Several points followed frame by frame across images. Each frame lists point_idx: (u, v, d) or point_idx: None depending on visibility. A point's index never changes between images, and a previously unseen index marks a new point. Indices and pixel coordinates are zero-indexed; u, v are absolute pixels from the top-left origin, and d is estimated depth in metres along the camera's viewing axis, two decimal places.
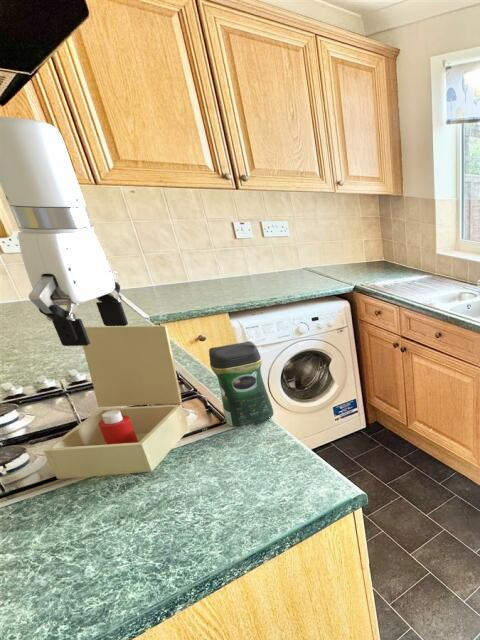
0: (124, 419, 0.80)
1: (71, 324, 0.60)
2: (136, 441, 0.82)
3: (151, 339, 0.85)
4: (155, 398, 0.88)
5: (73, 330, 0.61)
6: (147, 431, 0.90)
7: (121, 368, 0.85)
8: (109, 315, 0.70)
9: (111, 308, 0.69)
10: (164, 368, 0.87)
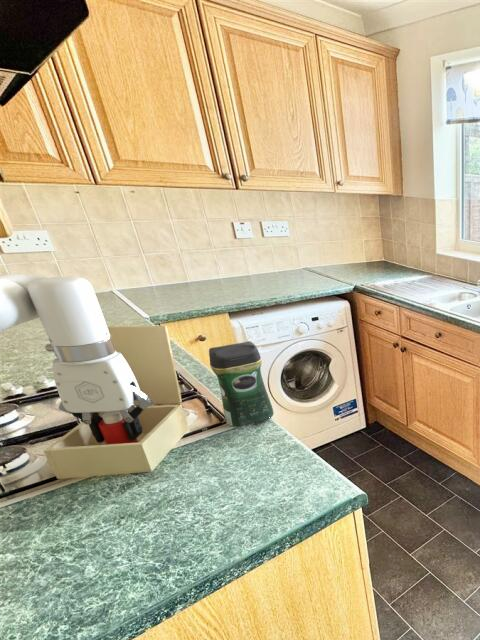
0: (124, 419, 0.80)
1: None
2: (136, 441, 0.82)
3: (151, 339, 0.85)
4: (155, 398, 0.88)
5: None
6: (147, 431, 0.90)
7: None
8: None
9: None
10: (164, 368, 0.87)
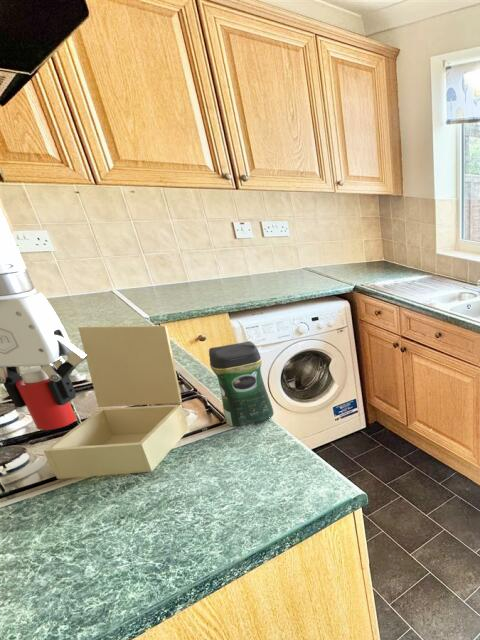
0: None
1: None
2: (68, 407, 0.66)
3: (151, 339, 0.85)
4: (155, 398, 0.88)
5: None
6: (147, 431, 0.90)
7: (121, 368, 0.85)
8: None
9: None
10: (164, 368, 0.87)
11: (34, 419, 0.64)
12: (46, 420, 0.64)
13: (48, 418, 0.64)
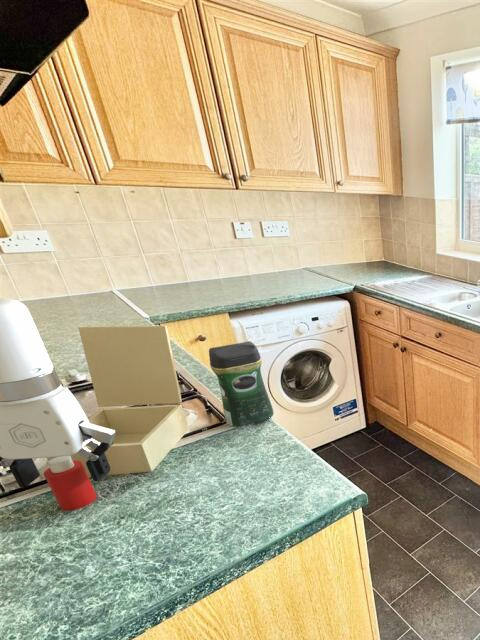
0: (76, 466, 0.68)
1: None
2: (91, 490, 0.70)
3: (151, 339, 0.85)
4: (155, 398, 0.88)
5: None
6: (147, 431, 0.90)
7: (121, 368, 0.85)
8: (27, 473, 0.66)
9: (27, 464, 0.66)
10: (164, 368, 0.87)
11: (60, 504, 0.68)
12: (71, 505, 0.68)
13: (73, 503, 0.68)
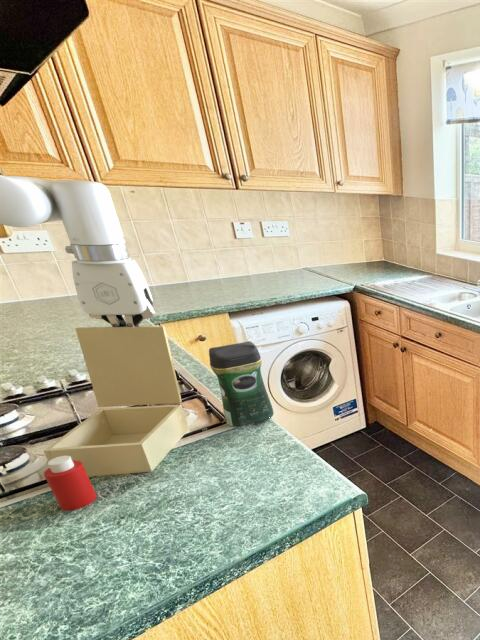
0: (76, 466, 0.68)
1: None
2: (91, 490, 0.70)
3: (149, 340, 0.84)
4: (155, 398, 0.88)
5: None
6: (147, 431, 0.90)
7: (120, 369, 0.84)
8: None
9: None
10: (163, 369, 0.86)
11: (60, 504, 0.68)
12: (71, 505, 0.68)
13: (73, 503, 0.68)
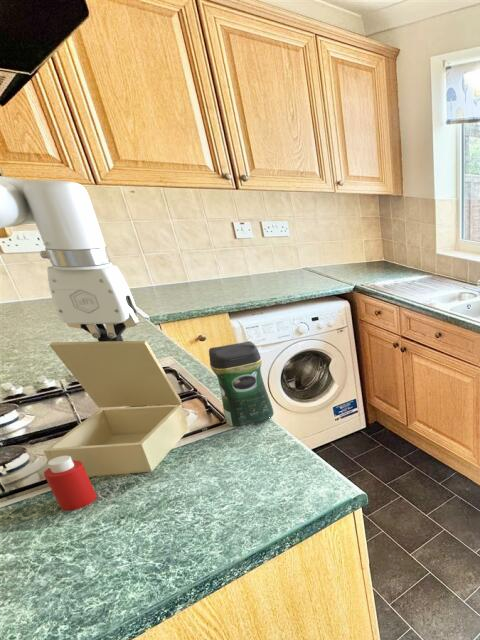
0: (76, 466, 0.68)
1: None
2: (91, 490, 0.70)
3: (133, 354, 0.79)
4: (154, 400, 0.87)
5: None
6: (147, 431, 0.90)
7: (110, 378, 0.82)
8: None
9: None
10: (155, 378, 0.84)
11: (60, 504, 0.68)
12: (71, 505, 0.68)
13: (73, 503, 0.68)
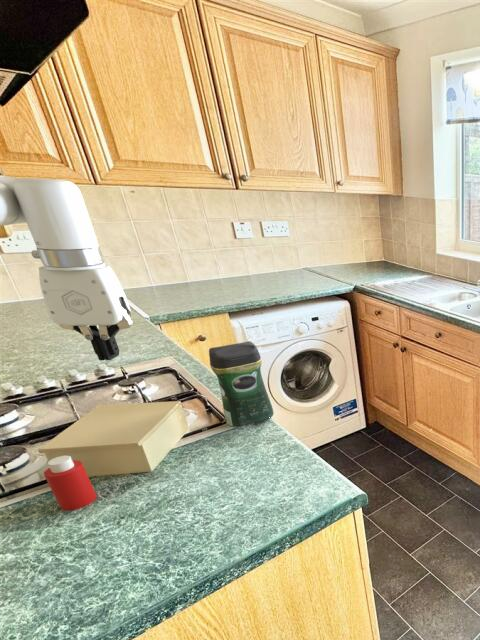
0: (76, 466, 0.68)
1: None
2: (91, 490, 0.70)
3: None
4: None
5: None
6: None
7: None
8: None
9: None
10: None
11: (60, 504, 0.68)
12: (71, 505, 0.68)
13: (73, 503, 0.68)
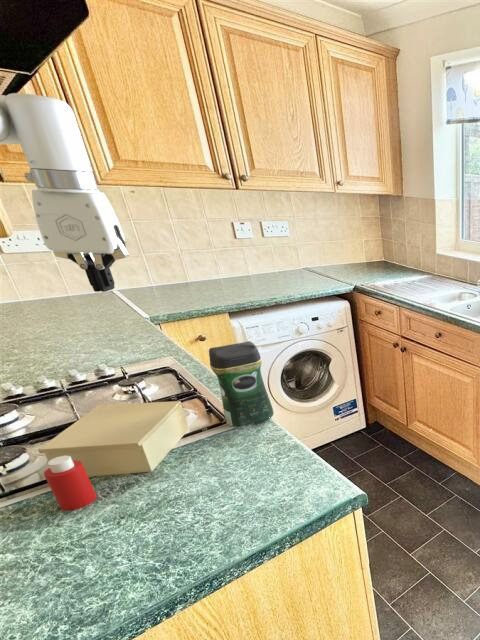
0: (76, 466, 0.68)
1: None
2: (91, 490, 0.70)
3: None
4: None
5: None
6: None
7: None
8: None
9: None
10: None
11: (60, 504, 0.68)
12: (71, 505, 0.68)
13: (73, 503, 0.68)
